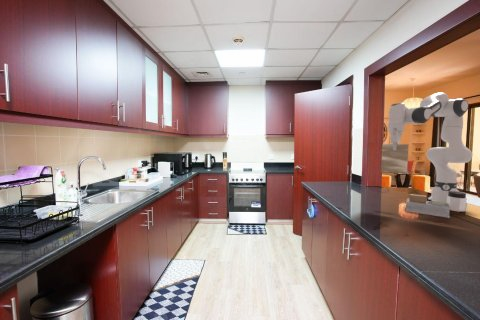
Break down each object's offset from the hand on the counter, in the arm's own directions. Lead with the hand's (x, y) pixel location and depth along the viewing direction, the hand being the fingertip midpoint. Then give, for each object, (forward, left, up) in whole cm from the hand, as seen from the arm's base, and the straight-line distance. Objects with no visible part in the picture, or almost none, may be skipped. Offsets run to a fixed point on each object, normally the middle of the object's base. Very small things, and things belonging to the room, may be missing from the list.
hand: (394, 150), depth 155 cm
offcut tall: (+5, +13, -36) cm, 38 cm away
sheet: (0, 0, -14) cm, 14 cm away
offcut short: (+5, +23, -36) cm, 43 cm away
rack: (+4, +18, -37) cm, 41 cm away
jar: (-12, +32, -37) cm, 51 cm away
